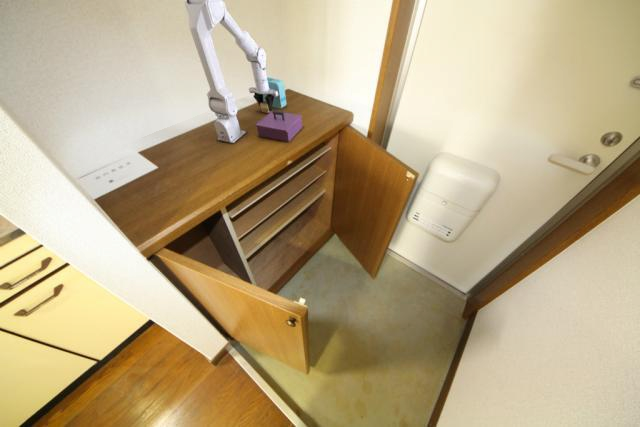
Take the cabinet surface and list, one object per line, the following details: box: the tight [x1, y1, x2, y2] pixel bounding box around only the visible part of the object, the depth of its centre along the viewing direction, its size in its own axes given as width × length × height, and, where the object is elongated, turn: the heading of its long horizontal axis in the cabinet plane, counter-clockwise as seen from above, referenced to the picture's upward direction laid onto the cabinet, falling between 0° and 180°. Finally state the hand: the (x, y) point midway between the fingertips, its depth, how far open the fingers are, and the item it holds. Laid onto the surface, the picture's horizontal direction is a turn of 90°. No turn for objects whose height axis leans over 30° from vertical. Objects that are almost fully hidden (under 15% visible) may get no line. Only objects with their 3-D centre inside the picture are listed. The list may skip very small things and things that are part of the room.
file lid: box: [255, 109, 303, 132], centre depth 91 cm, size 14×14×4 cm
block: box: [259, 100, 274, 114], centre depth 108 cm, size 4×4×4 cm
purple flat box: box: [256, 117, 303, 143], centre depth 95 cm, size 13×14×5 cm
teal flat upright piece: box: [263, 76, 287, 110], centre depth 110 cm, size 12×4×12 cm, turn 59°
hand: (267, 109), depth 109 cm, fingers closed on block, 4 cm apart
